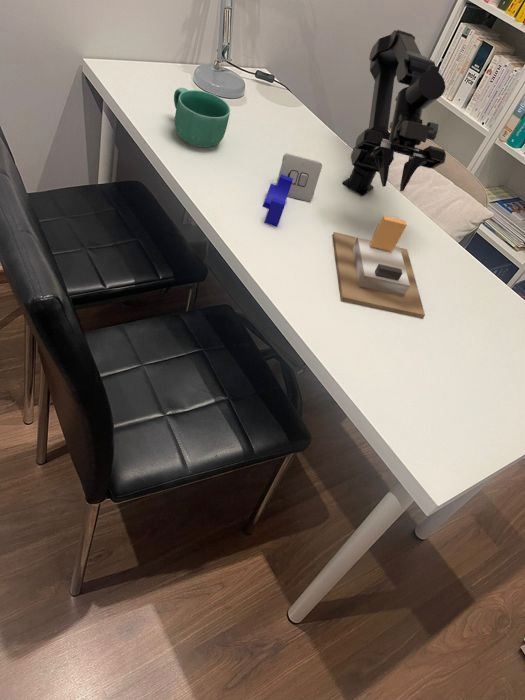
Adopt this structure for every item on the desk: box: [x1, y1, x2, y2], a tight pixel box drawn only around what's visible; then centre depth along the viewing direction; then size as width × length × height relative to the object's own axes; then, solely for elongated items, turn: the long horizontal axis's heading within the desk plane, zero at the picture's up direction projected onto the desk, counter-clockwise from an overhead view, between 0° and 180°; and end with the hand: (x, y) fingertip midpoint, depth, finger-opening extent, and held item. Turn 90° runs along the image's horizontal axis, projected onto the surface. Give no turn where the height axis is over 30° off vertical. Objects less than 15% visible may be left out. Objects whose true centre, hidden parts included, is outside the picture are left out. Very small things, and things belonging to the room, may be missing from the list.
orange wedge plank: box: [370, 215, 408, 251], centre depth 121 cm, size 7×5×2 cm
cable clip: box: [262, 174, 293, 228], centre depth 128 cm, size 12×4×6 cm, turn 170°
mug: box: [173, 87, 231, 148], centre depth 140 cm, size 17×13×10 cm
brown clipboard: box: [331, 231, 426, 319], centre depth 122 cm, size 22×18×6 cm
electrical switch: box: [275, 152, 323, 202], centre depth 135 cm, size 9×5×9 cm, turn 90°
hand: (392, 188), depth 123 cm, fingers open, 4 cm apart
